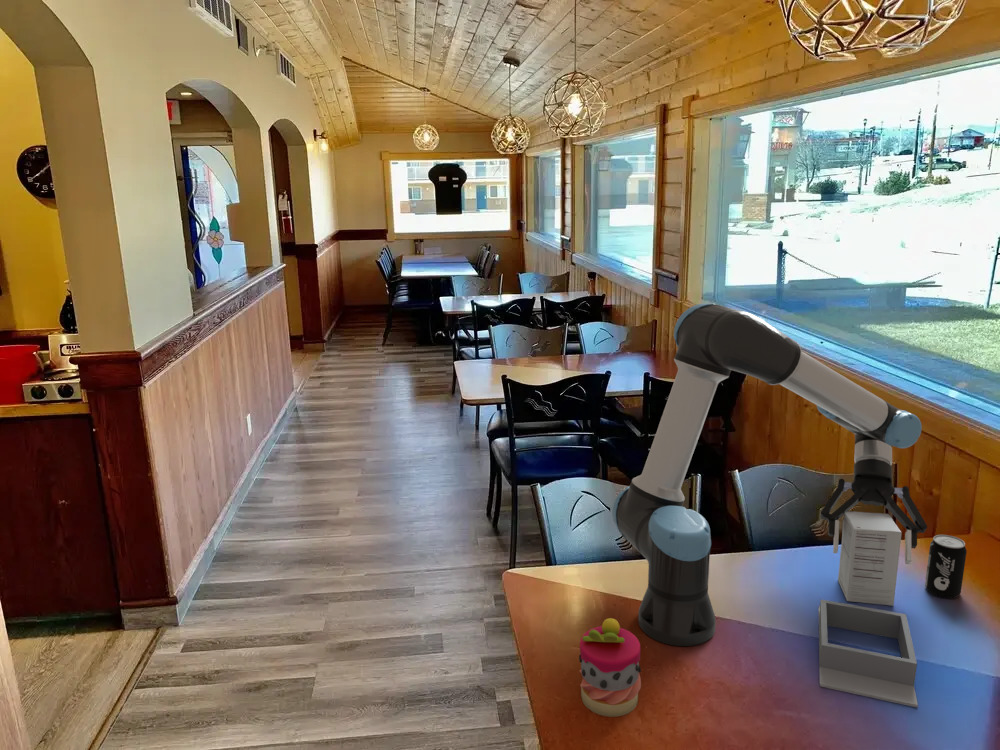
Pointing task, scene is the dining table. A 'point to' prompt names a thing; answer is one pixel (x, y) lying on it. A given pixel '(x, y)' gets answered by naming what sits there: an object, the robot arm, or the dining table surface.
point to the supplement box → (869, 557)
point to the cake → (610, 669)
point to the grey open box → (867, 654)
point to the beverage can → (945, 566)
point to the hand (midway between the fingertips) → (871, 556)
